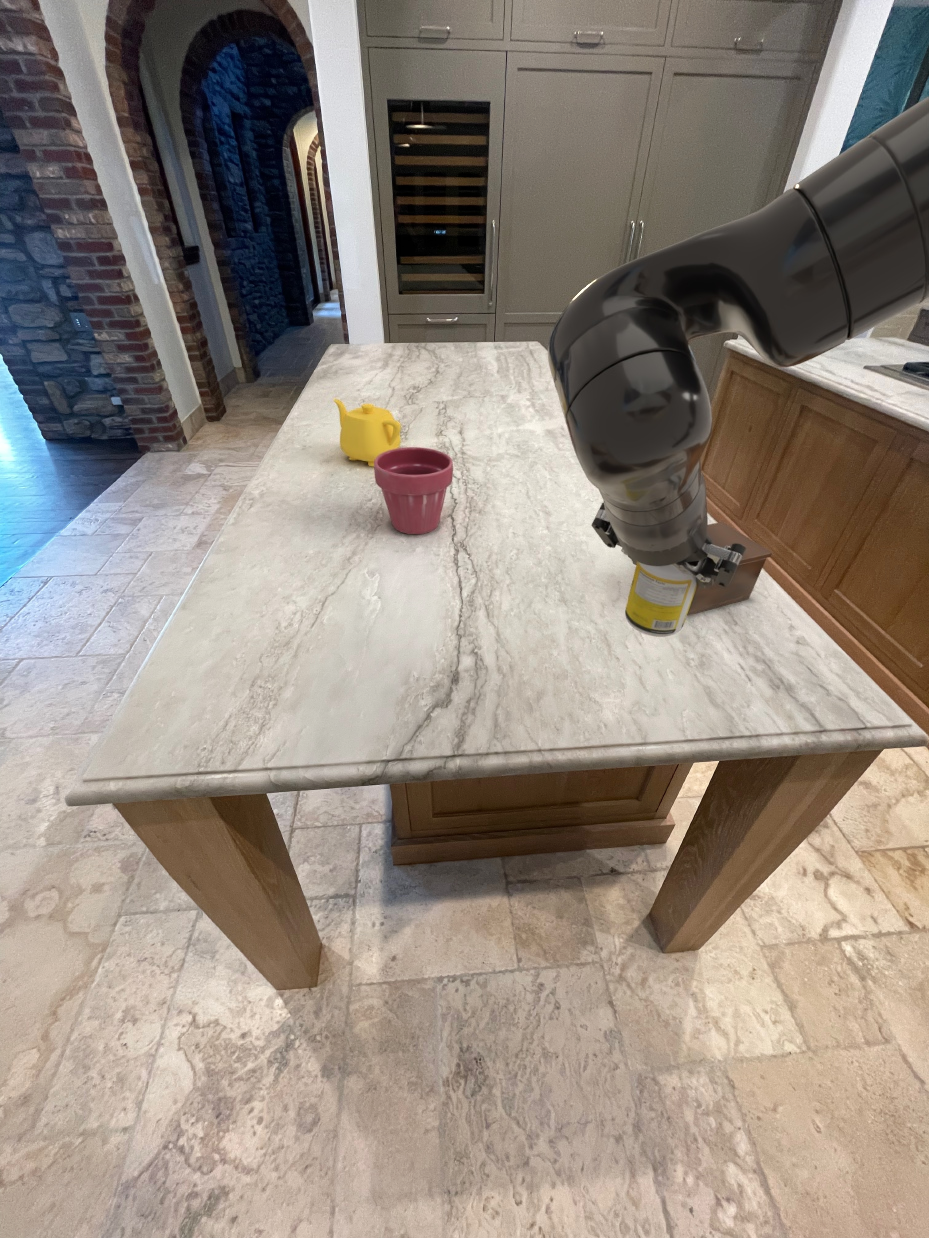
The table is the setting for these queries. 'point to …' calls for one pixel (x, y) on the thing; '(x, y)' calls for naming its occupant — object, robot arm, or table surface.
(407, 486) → the flower pot
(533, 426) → the table surface
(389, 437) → the teapot
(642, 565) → the pill bottle
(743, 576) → the box
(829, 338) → the robot arm
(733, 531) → the lid
